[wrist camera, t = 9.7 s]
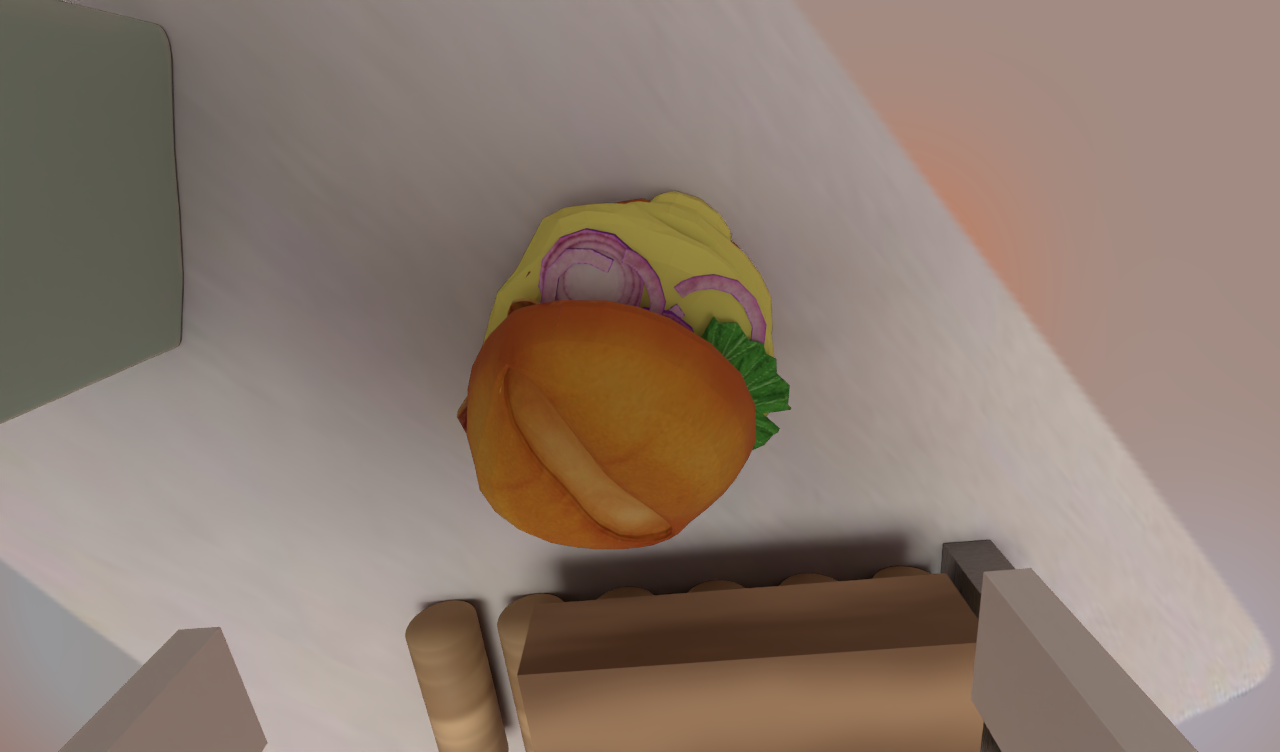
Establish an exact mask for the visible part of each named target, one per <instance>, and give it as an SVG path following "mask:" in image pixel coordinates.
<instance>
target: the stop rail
mask: <svg viewBox="0 0 1280 752" xmlns="http://www.w3.org/2000/svg"><path fill="white" fill-rule="evenodd" d="M1014 569H1015V568H1014V567H1013V566H1012V565H1011V563H1010V562H1009V561H1008V560H1007V559H1006V558H1005V556H1004V555H1003V554H1002V553H1001V552H1000V551H999V549H998V548H997V547H996V546H995V545H994V544H993V543H992V541H991V540H984V541H971V542H959V543H946V544H943V555H942V568H941V574H942V573H946V574H947V575H948V577H949V578H950V580H951V581H952V583H953V584H954V585H955V587H956V588H957V590H958V591H959V593H960V594H961V596H962V597H963V598H964V600H965V601H966V603H967V604H968V606H969V607H970V609H971V610H972V611H973V613H974V614H975V616H976V617H977V619H978V620H979V612H980V602H981V592H982V582H983V572H986V571H1000V570H1014ZM980 752H1001V750H1000V748H999V746H998V745H997V743H996V741H995V740H994V738H993V736H992V734H991V733H990V731H989V729H988V728H987V726H986V724H985V722H984V723H983V731H982V740H981V748H980Z"/></svg>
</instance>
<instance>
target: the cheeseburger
mask: <svg viewBox="0 0 1280 752" xmlns="http://www.w3.org/2000/svg"><path fill="white" fill-rule="evenodd" d="M771 334H772V309H771V296H770V294H769V292H768V290H767V287H766V285H765V283H764V281H763V279H762V277H761V274H760V273H759V272H758V270H757V269H756V268H755V266H754V265H753V264H752V263H751V261H750V260H749V259H748V257H747V256H746V255H745V254H744V253H743V252H742V251H741V250H740V249H739V247H738V246H737V245H736V244H735V243H733V242H732V241H731V234H730V230H729V228H728V227H727V225H726V223H725V222H724V220H723V219H722V217H721V215H719V214H718V213H717V212H716V211H715V210H713V209H712V208H711V207H710V206H709V205H707V204H706V203H705V202H704V201H702V200H701V199H700V198H698V197H694V196H690V195H687V194H683V193H679V192H676V191H671V192H667V193H663V194H660V195H658V196H656V197H654V198H653V199H652V201H649V200H645V199H642V198H641V199H635V200H630V201H624V202H618V203H602V204H589V205H580V206H573V207H566V208H563V209H561V210H559V211H557V212H555V213H553V214H551V215H549V216H547V217H545V218H543V220H542V222H541V223H540V225H539V227H538V229H537V231H536V233H535V235H534V237H533V239H532V241H531V242H530V244H529V246H528V248H527V250H526V252H525V254H524V256H523V258H522V260H521V261H520V263H519V265H518V267H517V269H516V270H515V272H514V273H513V274H512V275H511V276H510V278H509V279H508V280H507V281H506V282H505V284H504V285H503V286H502V287H501V288H500V290H499V291H498V292H497V295H496V298H495V302H494V305H493V309H492V312H491V314H490V319H489V323H488V327H487V330H486V334H485V338H484V342H483V345H482V348H481V350H480V352H479V354H478V356H477V358H476V360H475V362H474V364H473V366H472V370H471V375H470V380H469V386H468V396H467V397H466V399H465V400H464V402H463V404H462V405H461V407H460V408H459V410H458V414H457V418H458V419H459V421H460V423H461V425H462V427H463V428H464V430H465V432H466V433H467V438H468V441H469V445H470V449H471V453H472V457H473V461H474V464H475V469H476V474H477V478H478V483H479V488H480V491H481V492H482V494H483V495H484V496H485V498H486V499H487V501H488V502H489V503H490V505H491V506H492V508H493V509H494V511H495V512H497V513H498V514H499V515H500V516H502V517H503V518H504V519H506V520H507V521H508V522H510V523H511V524H512V525H514V526H515V527H516V528H518V529H520V530H522V531H524V532H526V533H529V534H531V535H534V536H536V537H539V538H541V539H543V540H546V541H548V542H551V543H556V544H561V545H567V546H573V547H581V548H590V549H628V548H638V547H645V546H651V545H654V544H657V543H660V542H662V541H665V540H668V539H670V538H672V537H673V536H675V535H677V534H678V533H679V532H680V531H681V530H682V529H683V528H684V527H685V526H687V525H688V524H689V523H690V522H691V521H692V520H693V519H695V518H696V517H697V516H698V515H700V514H701V513H702V512H704V511H705V510H706V509H707V508H708V507H709V506H711V505H712V504H713V503H714V502H715V501H716V500H717V499H718V498H719V497H720V496H722V495H723V494H724V492H725V491H726V490H727V489H728V488H729V486H730V485H731V484H732V483H733V482H734V480H735V479H736V477H737V476H738V474H739V472H740V471H741V469H742V468H743V466H744V464H745V463H746V461H747V459H748V458H749V455H750V453H751V451H752V450H753V449H756V448H758V447H760V446H763V445H765V443H766V442H767V441H768V440H769V439H770V438H771V437H772V435H774V434H776V433H778V431H779V429H780V428H779V427H777V426H776V425H775V424H774V423H773V422H772V421H770V420H769V419H768V418H767V417H766V416H767V415H768V413H770V412H777V411H784V410H790V409H791V407H789V405H788V398H789V387H790V385H789V384H788V383H786V382H785V381H784V380H783V379H782V378H781V377H780V376H779V375H778V374H777V370H776V358H774V351H773V343H772V337H771Z"/></svg>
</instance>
